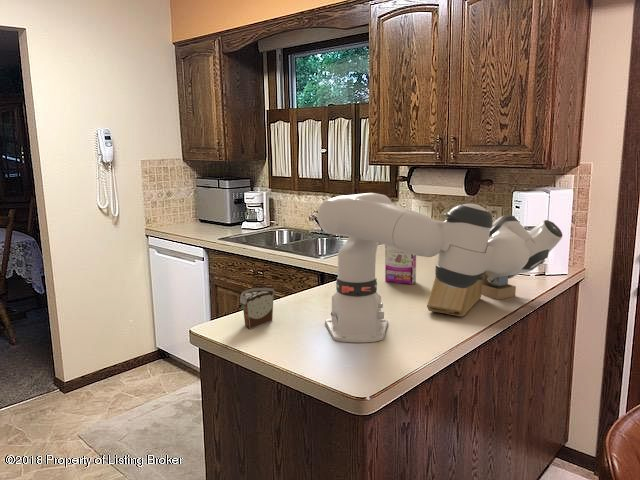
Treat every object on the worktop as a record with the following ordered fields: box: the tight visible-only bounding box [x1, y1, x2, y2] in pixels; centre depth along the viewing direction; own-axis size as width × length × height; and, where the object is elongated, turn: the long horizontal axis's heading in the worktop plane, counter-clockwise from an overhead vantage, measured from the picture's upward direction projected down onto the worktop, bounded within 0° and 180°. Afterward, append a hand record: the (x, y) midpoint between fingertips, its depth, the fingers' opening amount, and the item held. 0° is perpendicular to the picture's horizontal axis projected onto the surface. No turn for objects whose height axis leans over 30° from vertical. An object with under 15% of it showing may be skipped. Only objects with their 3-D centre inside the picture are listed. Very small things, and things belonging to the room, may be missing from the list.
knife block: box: [426, 274, 483, 317], centre depth 176 cm, size 11×35×31 cm, turn 149°
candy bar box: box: [384, 245, 417, 286], centre depth 204 cm, size 11×5×16 cm, turn 62°
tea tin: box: [488, 276, 509, 289], centre depth 186 cm, size 5×5×10 cm
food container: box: [239, 287, 276, 330], centre depth 160 cm, size 12×6×10 cm, turn 141°
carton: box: [481, 271, 517, 300], centre depth 186 cm, size 8×8×10 cm
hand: (499, 278), depth 186 cm, fingers open, 8 cm apart
